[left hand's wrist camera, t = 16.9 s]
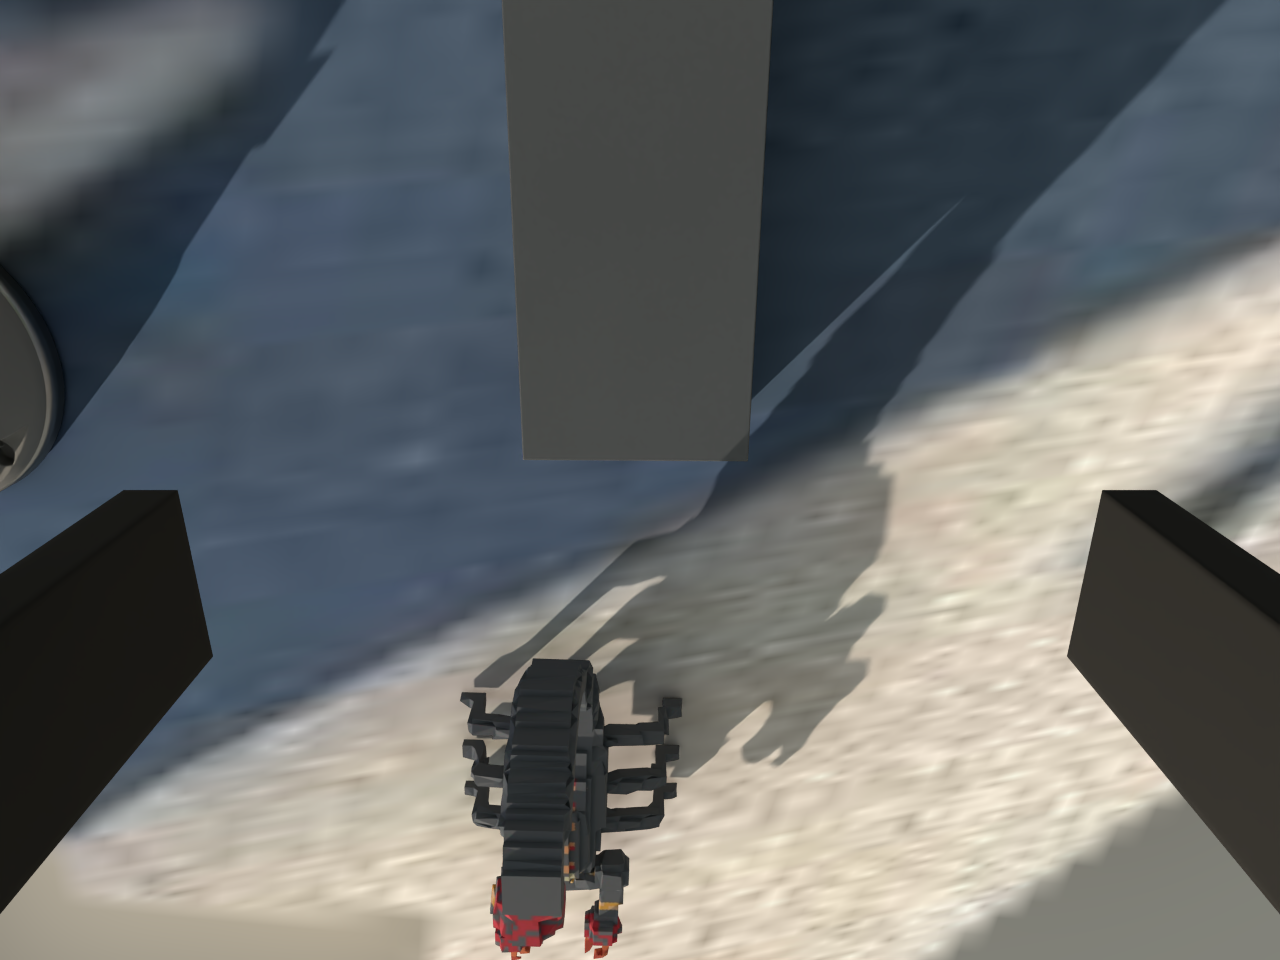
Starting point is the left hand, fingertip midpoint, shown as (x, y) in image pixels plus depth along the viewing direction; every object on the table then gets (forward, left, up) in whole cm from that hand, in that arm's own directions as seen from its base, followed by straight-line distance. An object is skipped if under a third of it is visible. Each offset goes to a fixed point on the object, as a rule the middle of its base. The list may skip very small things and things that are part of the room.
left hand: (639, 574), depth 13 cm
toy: (-8, -30, -33) cm, 45 cm away
